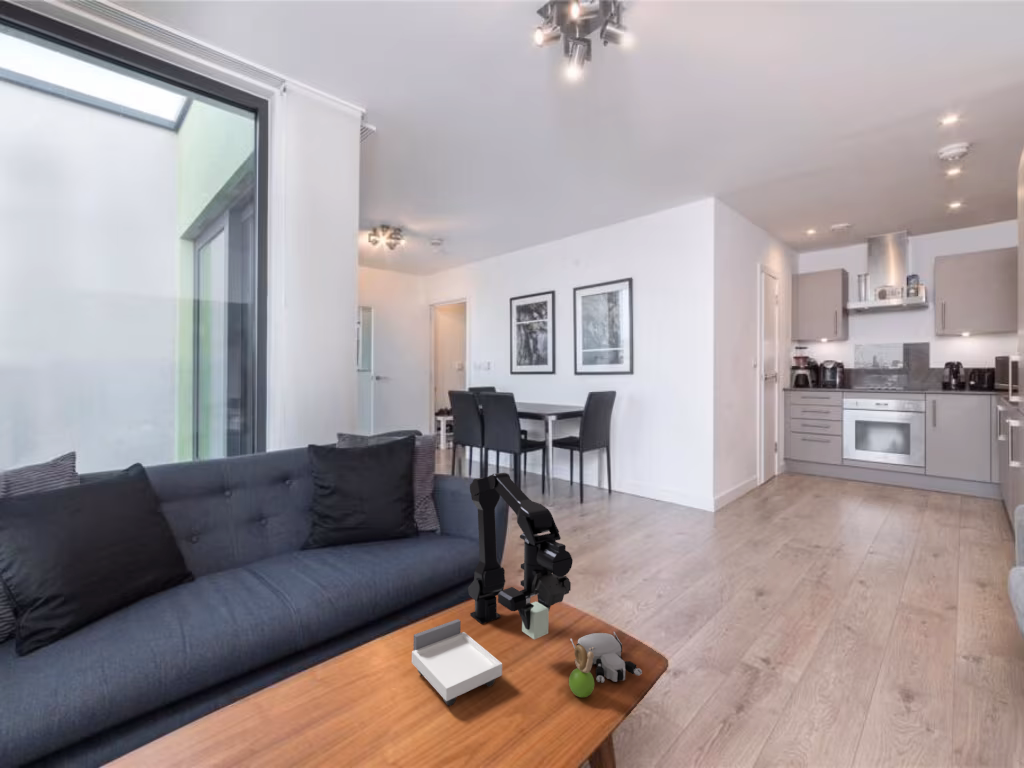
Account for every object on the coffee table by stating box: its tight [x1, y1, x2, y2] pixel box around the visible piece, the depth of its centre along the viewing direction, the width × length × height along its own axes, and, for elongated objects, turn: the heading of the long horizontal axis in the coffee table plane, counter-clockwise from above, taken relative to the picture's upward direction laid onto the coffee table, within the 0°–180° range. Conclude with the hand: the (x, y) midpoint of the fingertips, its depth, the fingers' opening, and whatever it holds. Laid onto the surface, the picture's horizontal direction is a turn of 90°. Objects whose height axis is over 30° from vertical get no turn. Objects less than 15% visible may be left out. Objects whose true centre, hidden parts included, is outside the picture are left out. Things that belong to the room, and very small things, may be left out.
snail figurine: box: [568, 645, 595, 699], centre depth 99 cm, size 5×6×12 cm
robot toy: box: [570, 631, 643, 683], centre depth 110 cm, size 12×4×15 cm
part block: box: [521, 600, 550, 640], centre depth 112 cm, size 4×4×6 cm
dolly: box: [411, 618, 503, 707], centre depth 105 cm, size 17×14×8 cm
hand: (535, 625), depth 112 cm, fingers closed on part block, 4 cm apart
